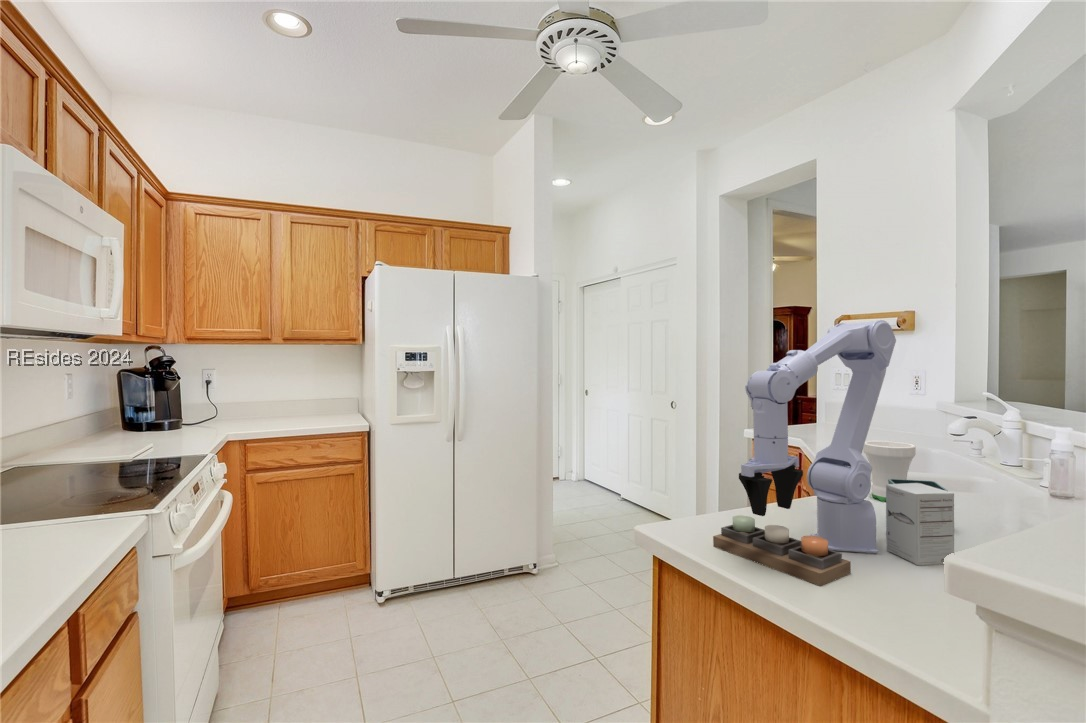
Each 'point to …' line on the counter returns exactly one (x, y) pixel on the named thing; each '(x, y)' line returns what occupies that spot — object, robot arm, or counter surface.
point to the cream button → (776, 534)
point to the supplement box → (919, 522)
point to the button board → (783, 555)
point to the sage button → (743, 523)
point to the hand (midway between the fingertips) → (771, 511)
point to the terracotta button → (814, 545)
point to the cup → (888, 463)
